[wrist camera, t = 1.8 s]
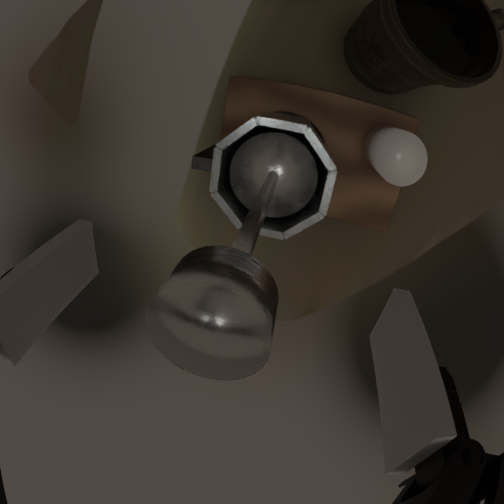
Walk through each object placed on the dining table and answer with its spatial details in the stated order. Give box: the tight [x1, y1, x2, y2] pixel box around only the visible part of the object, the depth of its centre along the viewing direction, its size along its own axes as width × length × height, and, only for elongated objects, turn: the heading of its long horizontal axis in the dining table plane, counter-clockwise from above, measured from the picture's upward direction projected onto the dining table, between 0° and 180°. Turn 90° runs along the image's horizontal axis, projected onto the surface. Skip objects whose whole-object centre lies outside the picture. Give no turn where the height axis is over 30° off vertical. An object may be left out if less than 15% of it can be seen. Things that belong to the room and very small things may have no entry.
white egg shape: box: [363, 125, 428, 186], centre depth 29 cm, size 6×6×7 cm
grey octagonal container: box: [192, 111, 337, 240], centre depth 30 cm, size 11×13×13 cm
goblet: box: [145, 132, 318, 380], centre depth 17 cm, size 8×8×20 cm
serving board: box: [221, 76, 419, 232], centre depth 35 cm, size 16×24×2 cm, turn 82°
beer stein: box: [344, 0, 504, 94], centre depth 18 cm, size 15×11×20 cm
